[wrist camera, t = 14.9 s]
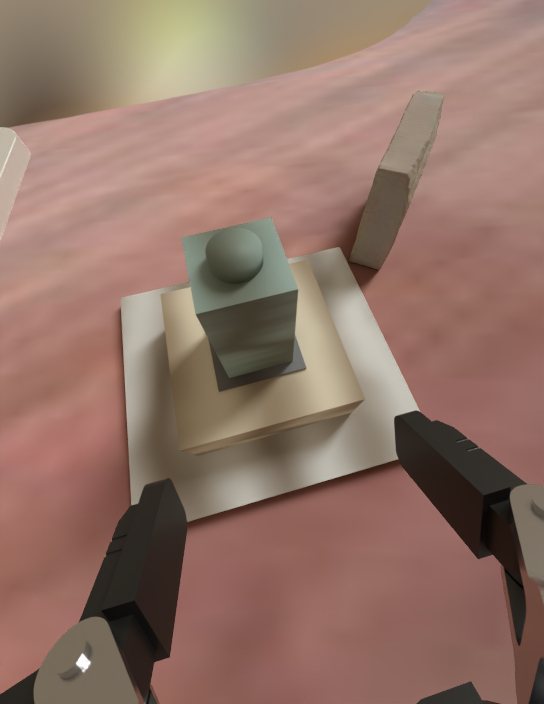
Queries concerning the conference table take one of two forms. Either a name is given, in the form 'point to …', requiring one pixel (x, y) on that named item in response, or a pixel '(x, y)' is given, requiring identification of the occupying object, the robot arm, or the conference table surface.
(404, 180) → the fossil
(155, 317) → the stand
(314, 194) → the conference table surface
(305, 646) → the conference table surface
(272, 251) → the post
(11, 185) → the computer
